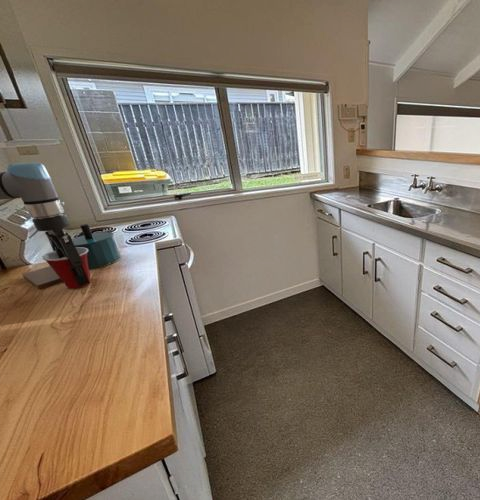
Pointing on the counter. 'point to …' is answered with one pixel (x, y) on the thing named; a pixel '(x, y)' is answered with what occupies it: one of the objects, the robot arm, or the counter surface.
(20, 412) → the counter surface
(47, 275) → the board
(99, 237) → the pot lid
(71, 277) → the plastic cup
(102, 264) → the pot
